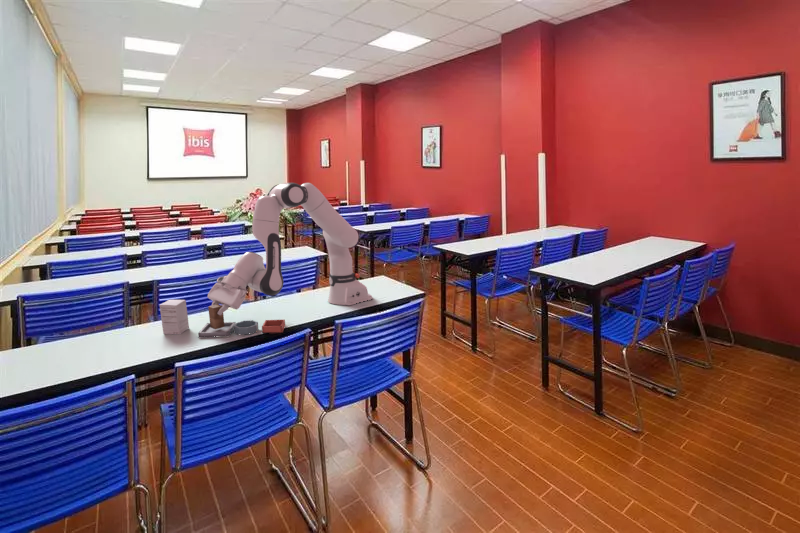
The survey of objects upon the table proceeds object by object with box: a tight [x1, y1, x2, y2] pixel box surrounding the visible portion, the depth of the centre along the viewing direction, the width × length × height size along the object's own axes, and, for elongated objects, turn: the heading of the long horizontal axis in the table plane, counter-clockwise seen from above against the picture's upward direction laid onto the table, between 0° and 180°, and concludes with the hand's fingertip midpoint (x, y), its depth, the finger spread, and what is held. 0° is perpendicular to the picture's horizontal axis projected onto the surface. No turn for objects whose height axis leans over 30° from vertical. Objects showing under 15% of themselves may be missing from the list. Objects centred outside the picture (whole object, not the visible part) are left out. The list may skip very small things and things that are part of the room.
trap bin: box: [261, 319, 286, 334], centre depth 189 cm, size 8×8×3 cm
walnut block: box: [207, 303, 225, 329], centre depth 186 cm, size 4×4×9 cm
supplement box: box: [159, 299, 190, 335], centre depth 187 cm, size 7×7×13 cm
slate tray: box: [197, 321, 237, 338], centre depth 187 cm, size 12×12×2 cm
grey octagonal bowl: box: [233, 319, 259, 335], centre depth 188 cm, size 9×9×3 cm
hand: (214, 313), depth 185 cm, fingers closed on walnut block, 4 cm apart
